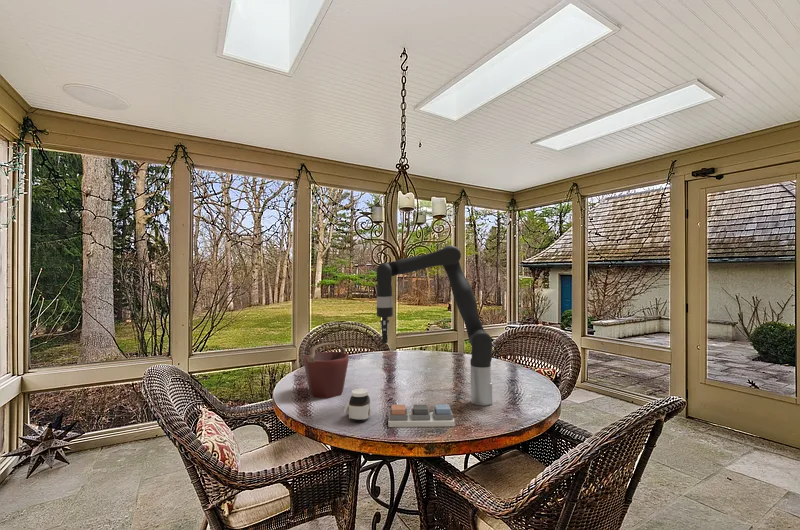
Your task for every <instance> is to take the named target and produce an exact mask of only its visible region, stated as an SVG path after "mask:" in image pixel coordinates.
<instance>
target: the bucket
mask: <svg viewBox="0 0 800 530" xmlns="http://www.w3.org/2000/svg"><path fill="white" fill-rule="evenodd" d="M328 345H332V346H335V347H337V348H338V349H339V350H340V351H323V352H322V351H321V352H316V350H317V349H319V348H321V347H324V346H328ZM349 355H350V354H349V353H346V349H345V348H344V346H342V345H340V344H338V343H334V342H323V343H319V344H316V345H313V346H312V347H310V348H309V354H307V355H304V356H303V365H304V371H305V375H306V381H307V386H308V390H309V394H310V395H311V396H312V398H314V399H315V398H317V399H319V398H320V399H330V398H335V397H340V396H341V395H342V394H343V393H344V392H343V391H344V388H345V383H346V382H345V381H346V376H347V371H348V365H349V358H350V357H349Z"/></svg>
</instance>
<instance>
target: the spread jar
mask: <svg viewBox="0 0 800 530" xmlns="http://www.w3.org/2000/svg"><path fill="white" fill-rule="evenodd" d="M350 392H351V396H350V398H349V401H347V403H346V404H345V406H344V410H343V411H344V414H346V415H347V416H348V418H349V420H350V421H351V422H354V423H364V422H367V421H368V420H369V419H370V415H371V397H370V396H369V391H368V389H366V388H355V389H352V390H351V391H350Z"/></svg>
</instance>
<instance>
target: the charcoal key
mask: <svg viewBox="0 0 800 530" xmlns="http://www.w3.org/2000/svg"><path fill="white" fill-rule="evenodd" d="M412 405H413V406H412V407H413V408H412V409H413V411H414V415H428V409H429V408H428V404H412Z"/></svg>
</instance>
